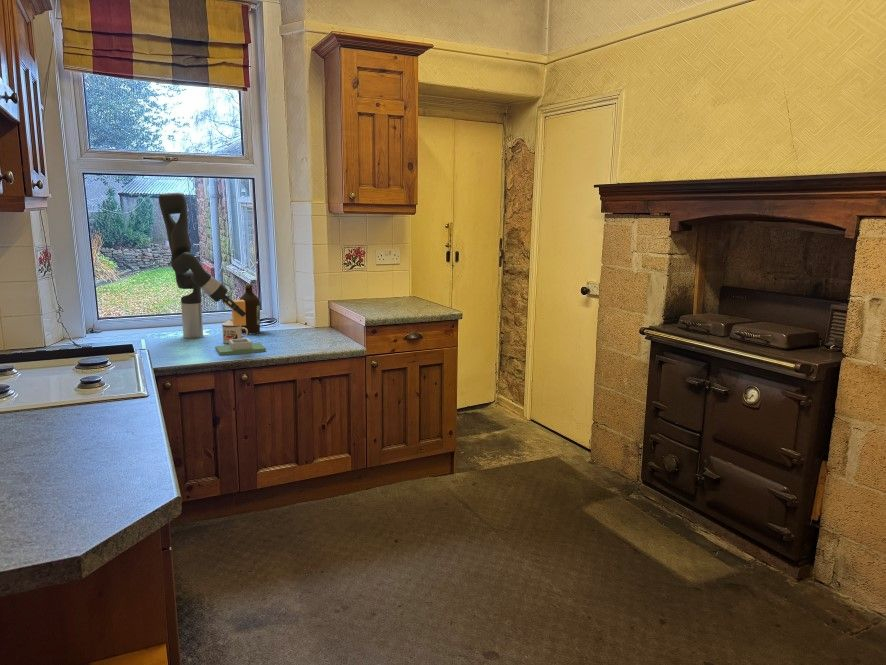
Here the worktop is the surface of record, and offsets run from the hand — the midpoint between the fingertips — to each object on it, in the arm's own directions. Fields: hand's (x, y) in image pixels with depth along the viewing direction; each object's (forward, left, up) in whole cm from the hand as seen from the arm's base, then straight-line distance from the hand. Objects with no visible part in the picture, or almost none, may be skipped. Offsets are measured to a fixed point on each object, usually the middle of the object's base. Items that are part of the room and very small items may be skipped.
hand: (243, 314), depth 275 cm
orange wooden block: (0, -2, -5) cm, 5 cm away
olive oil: (-39, +10, -17) cm, 43 cm away
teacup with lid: (-19, -1, -17) cm, 25 cm away
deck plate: (0, -2, -17) cm, 17 cm away
